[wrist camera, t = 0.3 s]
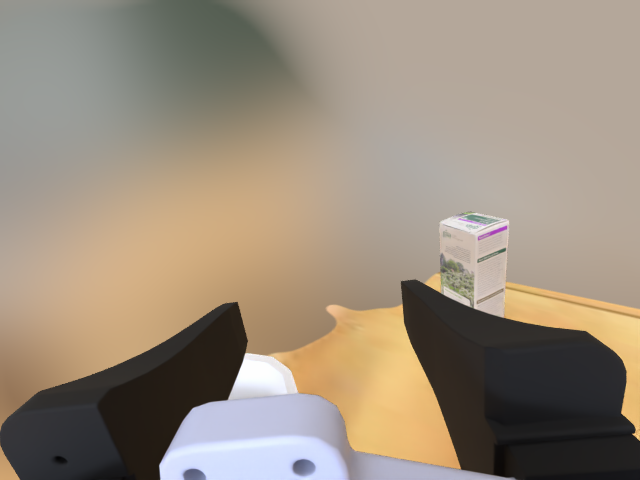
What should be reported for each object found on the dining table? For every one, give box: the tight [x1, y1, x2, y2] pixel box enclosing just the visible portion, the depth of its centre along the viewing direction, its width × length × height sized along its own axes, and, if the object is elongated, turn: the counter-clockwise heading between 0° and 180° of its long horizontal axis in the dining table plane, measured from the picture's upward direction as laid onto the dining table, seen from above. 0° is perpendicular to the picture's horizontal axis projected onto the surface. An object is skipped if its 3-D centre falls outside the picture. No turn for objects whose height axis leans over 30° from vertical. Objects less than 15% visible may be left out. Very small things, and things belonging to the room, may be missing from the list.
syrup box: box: [439, 212, 509, 318], centre depth 39 cm, size 6×6×14 cm
